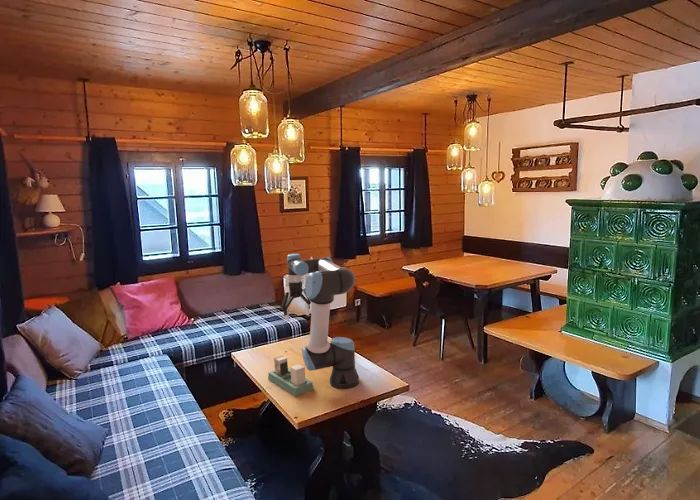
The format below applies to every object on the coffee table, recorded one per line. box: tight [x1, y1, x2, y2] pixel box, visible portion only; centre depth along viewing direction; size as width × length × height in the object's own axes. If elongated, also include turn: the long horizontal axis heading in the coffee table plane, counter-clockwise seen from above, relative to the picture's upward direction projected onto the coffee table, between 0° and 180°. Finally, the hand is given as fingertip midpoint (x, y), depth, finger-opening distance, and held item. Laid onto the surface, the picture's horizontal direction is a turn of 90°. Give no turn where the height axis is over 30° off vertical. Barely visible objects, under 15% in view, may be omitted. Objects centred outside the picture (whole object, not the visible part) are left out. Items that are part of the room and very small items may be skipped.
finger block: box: [273, 355, 289, 377], centre depth 230 cm, size 6×5×10 cm
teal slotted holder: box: [267, 363, 315, 398], centre depth 224 cm, size 26×11×12 cm, turn 40°
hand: (297, 317), depth 249 cm, fingers open, 13 cm apart
